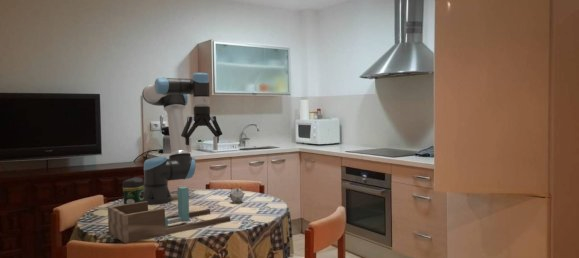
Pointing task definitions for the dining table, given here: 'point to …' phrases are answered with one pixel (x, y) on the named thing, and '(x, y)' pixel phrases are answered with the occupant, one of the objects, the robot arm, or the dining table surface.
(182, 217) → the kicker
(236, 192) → the game die
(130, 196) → the coffee jar
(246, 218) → the dining table surface
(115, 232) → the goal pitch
